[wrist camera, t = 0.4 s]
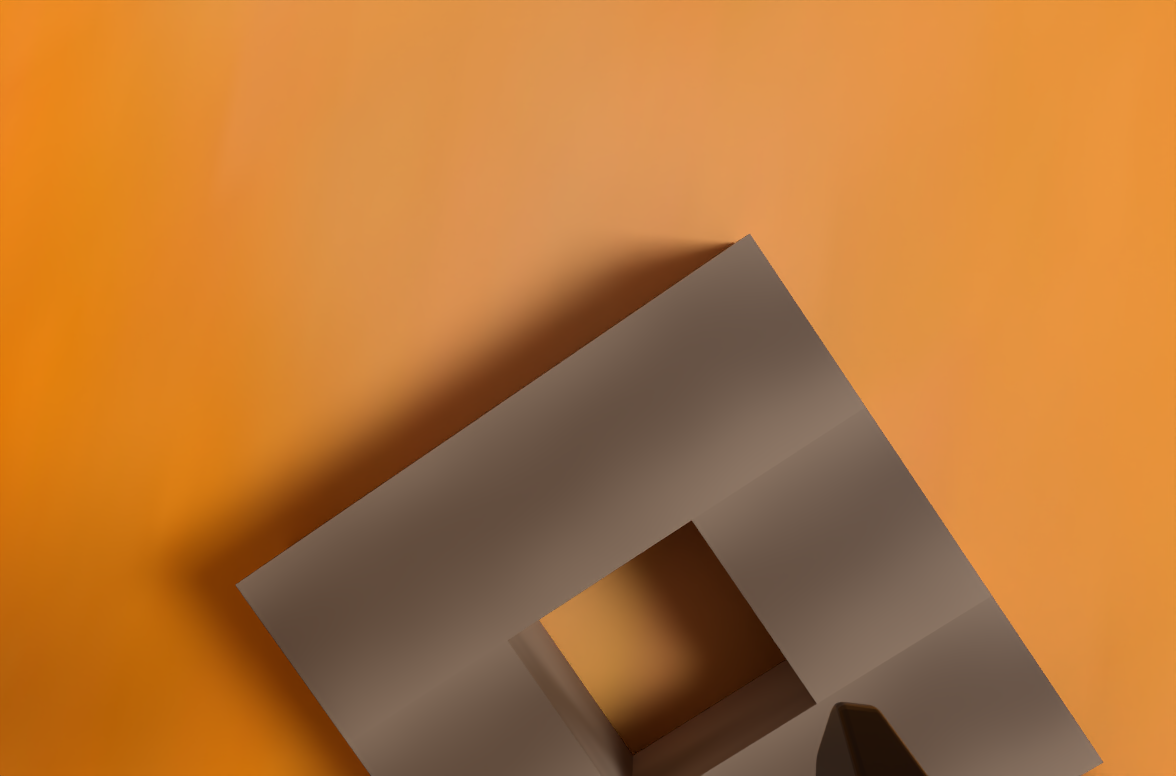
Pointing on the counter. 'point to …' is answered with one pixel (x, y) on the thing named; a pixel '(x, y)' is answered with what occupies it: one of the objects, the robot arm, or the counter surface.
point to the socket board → (635, 523)
